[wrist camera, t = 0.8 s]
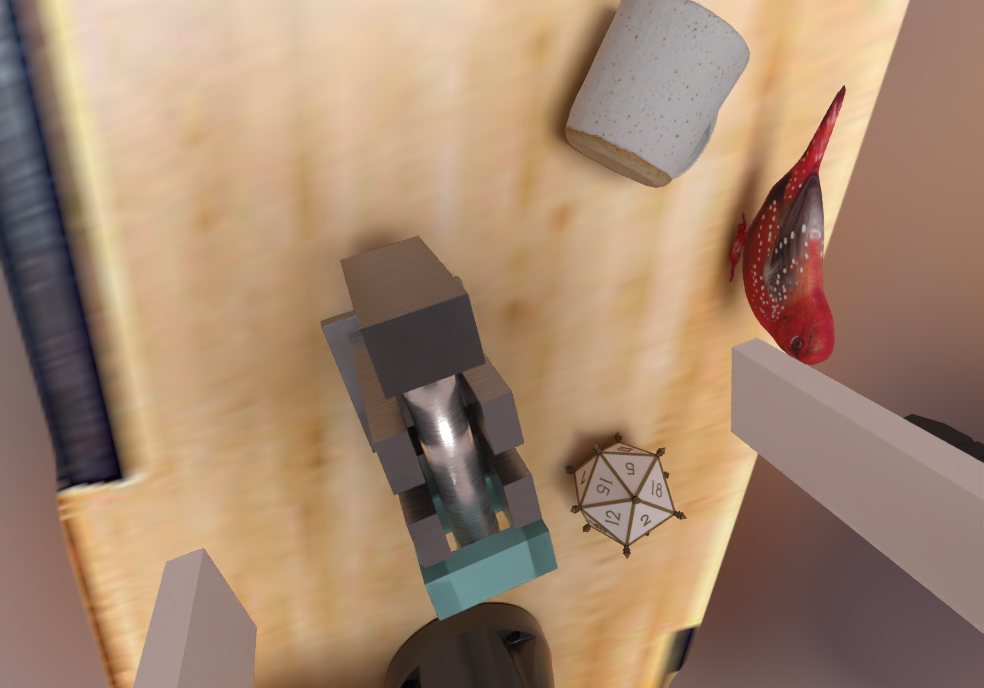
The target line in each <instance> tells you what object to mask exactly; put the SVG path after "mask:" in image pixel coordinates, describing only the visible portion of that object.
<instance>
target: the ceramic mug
mask: <svg viewBox="0 0 984 688" xmlns="http://www.w3.org/2000/svg"><path fill="white" fill-rule="evenodd" d="M749 57H750V52H749V49H748V46H747V44H746V42H745V41H744V39H743V38H742V36H741V35H740V34H739V33H738V32H737V31H736V30H735V29H734V28H733V27H732V26H731V25H730V24H728V23H727V22H726V21H724V20H723V19H721V18H720V17H718V16H717V15H715V14H714V13H713V12H711V11H710V10H708V9H706V8H705V7H703V6H701V5H700V4H698V3H696V2H694V1H691V0H622V1H621V3H620V5H619V7H618V10H617V12H616V14H615V17H614V19H613V21H612V23H611V25H610V27H609V29H608V31H607V33H606V35H605V37H604V39H603V41H602V44H601V46H600V48H599V50H598V52H597V55H596V57H595V59H594V61H593V63H592V66H591V68H590V70H589V72H588V74H587V77H586V79H585V81H584V83H583V85H582V87H581V89H580V90H579V92H578V94H577V96H576V99H575V101H574V103H573V106H572V108H571V111H570V114H569V118H568V121H567V125H566V128H565V134H566V137H567V140H568V143H569V144H570V145H571V146H573V147H574V148H575V149H577V150H578V151H580V152H581V153H583V154H584V155H586V156H588V157H590V158H591V159H593V160H595V161H597V162H599V163H600V164H602V165H604V166H606V167H608V168H610V169H612V170H614V171H616V172H618V173H620V174H621V175H623V176H626V177H628V178H630V179H632V180H635V181H637V182H639V183H641V184H644V185H646V186H650V187H654V188H658V187H663V186H665V185H667V184H669V183H670V182H671V181H672V179H673V178H677V177H679V176H680V175H682V174H684V173H685V172H686V171H687V170H689V169H690V167H691V166H692V165H693V164H694V163H695V162H696V161H697V159H698V158H699V156H700V155H701V154H702V152H703V151H704V149H705V147H706V146H707V144H708V142H709V139H710V137H711V135H712V133H713V130H714V127H715V124H716V121H717V116H718V111H719V109H720V107H721V106H722V104H723V103H724V101H725V99H726V98H727V96H728V95H729V93H730V92H731V90H732V88H733V87H734V85H735V84H736V82H737V80H738V79H739V77H740V76H741V74H742V73H743V71H744V69H745V68H746V66H747V63H748V61H749Z"/></svg>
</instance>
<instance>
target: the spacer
mask: <svg viewBox="0 0 984 688" xmlns="http://www.w3.org/2000/svg"><path fill="white" fill-rule="evenodd" d="M484 477H485V480H486V484H487V487H488V490H489V494H490V497H491V501H492V504H493V507H494V511H495V513H497V512H500V511H502V510H503V512H504V514H505V516H506V518H507V520H508V522H509V524H510V526H511V527H510V528H507V529H505V530H503V531H500V532H498V533H496V534H493V535H491V536H489V537H486V538H484V539H482V540H479V541H477V542H474V543H472V544H470V545H467V546H465V547H463V548H460V549H458V550H456V551H453V552H451V553H452V556H453V557H450V558H448V559H446V560H443V561H441V562H439V563H436V564H434V565H431V566H429V567H427V568H424V567H423V565H422V562H421V560H420V558H419V555H418V553H417V550H416V548H415V550H416V554H417V558H418V561H419V565H420V569H421V572H422V576H423V580H424V584H425V586H426V589H427V591H428V594H429V596H430V599H431V601H432V603H433V606H434V608H435V611H436V613H437V615H438V618H439V620H440V621H441V620H443V619H445V618H448V617H450V616H452V615H454V614H457V613H459V612H461V611H463V610H466V609H468V608H470V607H472V606H474V605H477V604H479V603H481V602H483V601H486V600H488V599H490V598H492V597H495V596H497V595H499V594H501V593H504V592H506V591H508V590H510V589H512V588H515V587H517V586H519V585H521V584H524V583H526V582H528V581H530V580H533V579H535V578H537V577H539V576H541V575H544V574H546V573H548V572H550V571H553V570H555V569H557V563H556V559H555V555H554V550H553V546H552V542H551V538H550V533H549V530H548V529H547V527H546V525H545V523H544V522H543V520H542V519H539V520H537V521H535V522H532V523H530V524H528V525H525V526H523V527H521V528H518V529H516V530H515V528H514V526H513V524H512V522H511V520H510V518H509V516H508V514H507V512H506V510H505V509H504V507H503V505H502V503H501V501H500V499H499V497H498V495H497V493H496V491H495V489H494V487H493V485H492V483H491V481H490V479H489V477H488V475H484ZM432 498H433V501H434V504H435V507H436V510H437V513H438V515H439V518H440V521H441V524H442V527H443V530H444V533H445V534H447V533H449V532H452V530H451V527H450V524H449V521H448V519H447V516H446V513H445V510H444V507H443V504H442V502H441V499H440V496H439V494H437V495H434V496H432ZM414 546H415V545H414Z"/></svg>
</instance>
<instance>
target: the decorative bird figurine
mask: <svg viewBox="0 0 984 688" xmlns="http://www.w3.org/2000/svg"><path fill="white" fill-rule="evenodd" d="M845 91H846V88H845V85H844V86H843V87H842V88H841V90H840V91H839V92H838V93H837V95H836V97H835V98H834V100H833V102H832V104H831V106H830V107H829V109H828V110H827V113H826V115H825V116H824V118H823V120H822V122H821V124H820V126H819V127H818V129H817V131H816V133H815V134H814V137H813V139H812V140H811V142H810V144H809V146H808V148H807V150H806V151H805V153H804V154H803V155H802V157H801V158H800V160H799V161H798V162H797V163H796V164H795V165H794V167H793V168H792V169H791V170H790V171H789V172H788V173H787V174H785V175H784V176H783V177H782V178H781V179H780V180H779V181H778V182H777V183H776V184H775V185H774V186H773V187H772V189H771V190H770V192H769V194H768V196H767V198H766V200H765V202H764V204H763V206H762V207H761V209H760V211H759V212H758V214H757V215H756V217H755V218H754V220H753V222H752V223H751V225H750V226H749V228H748V229H747V231H746V232H744V231H745V229H746V219H745V215H744V213H743V214H742V218H743V224H741V223H740V224H739V226H738V232H737V236H736V238H735V243H734V246H733V248H732V251H731V257H730V260H731V265H732V269H731V277H730V282H731V281H732V279H733V276H734V268H735V266H736V264H737V263H738V262H739V260H740V256H741V250H742V248H743V246H744V251H743V264H742V273H743V281H744V287H745V292H746V296H747V299H748V302H749V304H750V307H751V309H752V311H753V313H754V315H755V317H756V318H757V320H758V321H759V323H760V324H761V325H762V326H763V327H764V328H765V330H767V331H768V333H769V334H770V335H771V336H772V337H773V338H774V340H775V341H776V343H777V344H778V346H779V347H780V348H781V349H782V350H783V351H785V352H786V353H787V354H788V355H789V356H791V357H793V358H795V359H797V360H798V361H800V362H802V363H804V364H808V365H813V364H817V363H820V362H823V361H825V360H826V359H828V358H829V356H830V355H831V353H832V351H833V347H834V323H833V317H832V314H831V311H830V308H829V306H828V303H827V300H826V298H825V294H824V291H823V248H824V214H823V202H822V193H821V187H820V181H819V174H818V172H819V167H820V163H821V161H822V158H823V155H824V152H825V149H826V147H827V144H828V142H829V138H830V136H831V134H832V131H833V127H834V125H835V122H836V119H837V117H838V113H839V111H840V109H841V106H842V102H843V99H844V95H845ZM742 225H743V226H742ZM741 226H742V228H741Z"/></svg>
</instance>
